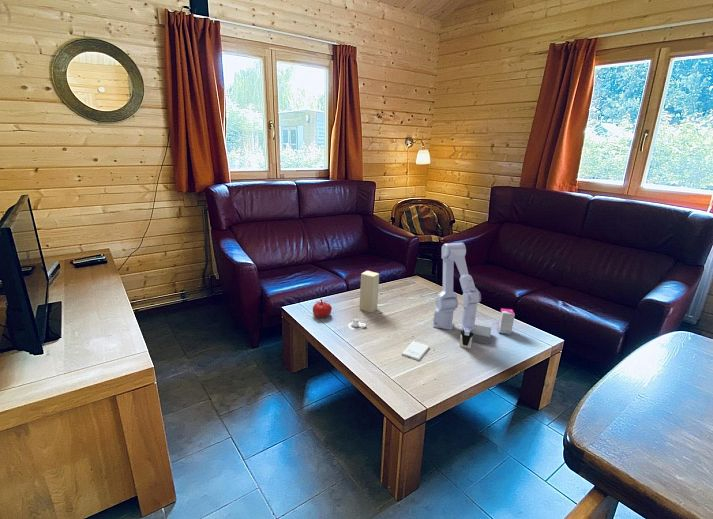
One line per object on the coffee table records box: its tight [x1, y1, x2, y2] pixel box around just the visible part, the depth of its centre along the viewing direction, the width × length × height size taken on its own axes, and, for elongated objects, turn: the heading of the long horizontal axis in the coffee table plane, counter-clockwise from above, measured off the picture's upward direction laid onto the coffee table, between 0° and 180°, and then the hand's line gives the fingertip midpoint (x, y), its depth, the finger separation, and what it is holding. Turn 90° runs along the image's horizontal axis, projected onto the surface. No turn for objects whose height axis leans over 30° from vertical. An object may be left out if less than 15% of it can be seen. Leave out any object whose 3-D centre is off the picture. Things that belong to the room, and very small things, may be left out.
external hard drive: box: [401, 340, 430, 361], centre depth 171 cm, size 2×8×12 cm
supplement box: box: [497, 308, 516, 336], centre depth 189 cm, size 6×6×12 cm
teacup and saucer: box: [347, 317, 367, 331], centre depth 192 cm, size 9×8×4 cm
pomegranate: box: [312, 298, 333, 319], centre depth 201 cm, size 10×10×9 cm
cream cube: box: [459, 334, 473, 349], centre depth 177 cm, size 5×5×5 cm
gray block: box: [471, 324, 492, 345], centre depth 185 cm, size 10×10×4 cm
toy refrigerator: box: [359, 270, 380, 313], centre depth 209 cm, size 8×7×21 cm
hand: (465, 342), depth 177 cm, fingers closed on cream cube, 5 cm apart
